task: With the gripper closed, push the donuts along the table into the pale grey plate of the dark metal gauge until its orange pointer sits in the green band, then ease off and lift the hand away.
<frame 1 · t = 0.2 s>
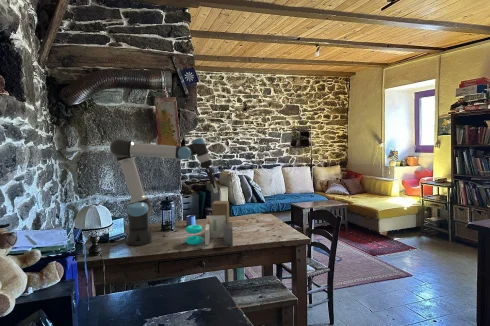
hand: (216, 191, 229), 28 cm above the table, tool tilted 20°, fingers open, 13 cm apart
wooden block: (221, 231, 232), on the table
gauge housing: (209, 242, 208), on the table
gauge plate: (207, 231, 209), point 6 cm above the table, slide at 0.0 cm
donuts: (194, 243, 208), on the table
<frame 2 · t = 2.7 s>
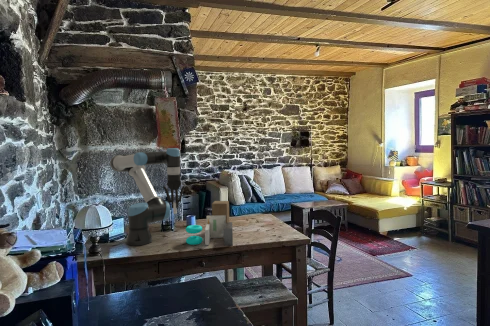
hand: (175, 213, 206), 18 cm above the table, tool pointing down, fingers closed
nothing on the table moved.
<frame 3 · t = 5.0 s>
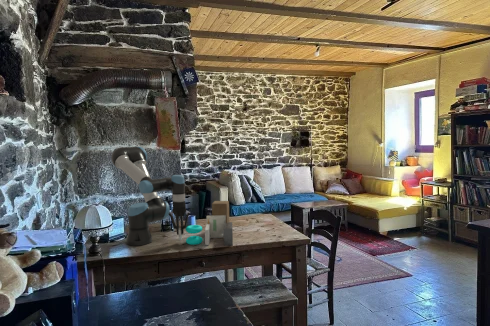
hand: (180, 239, 207), 2 cm above the table, tool pointing down, fingers closed
donuts: (194, 243, 208), on the table, touching gripper
everything else where it was.
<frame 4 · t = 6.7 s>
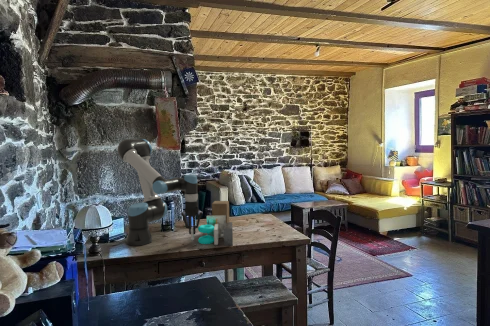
hand: (192, 239, 208), 2 cm above the table, tool pointing down, fingers closed
gauge plate: (216, 231, 209), point 6 cm above the table, slide at 5.3 cm
donuts: (206, 242, 209), on the table, touching gripper, hand
everything else where it was.
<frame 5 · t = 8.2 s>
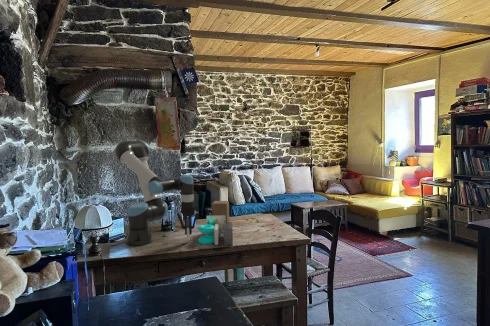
hand: (188, 239, 208), 2 cm above the table, tool pointing down, fingers closed
gauge plate: (216, 231, 209), point 6 cm above the table, slide at 5.4 cm, touching donuts
donuts: (206, 242, 209), on the table, touching gauge plate
everything else where it was.
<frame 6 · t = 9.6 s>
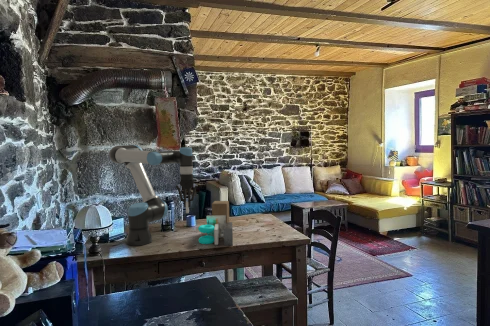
hand: (187, 212, 207), 18 cm above the table, tool pointing down, fingers closed
gauge plate: (216, 231, 209), point 6 cm above the table, slide at 5.5 cm
donuts: (206, 242, 209), on the table
everything else where it was.
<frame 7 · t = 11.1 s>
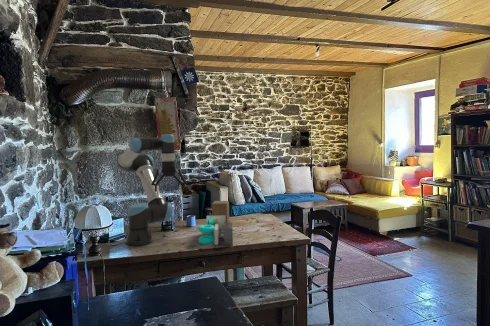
hand: (169, 196, 203), 29 cm above the table, tool pointing down, fingers open, 13 cm apart
nothing on the table moved.
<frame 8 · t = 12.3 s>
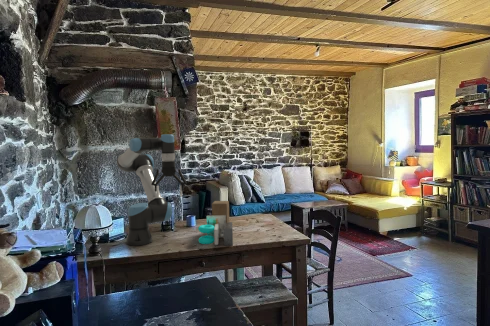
hand: (169, 196, 203), 29 cm above the table, tool pointing down, fingers open, 13 cm apart
nothing on the table moved.
at the end: gauge plate slide at 5.5 cm; donuts moved 7.5 cm from its start; donuts tilted 1° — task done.
